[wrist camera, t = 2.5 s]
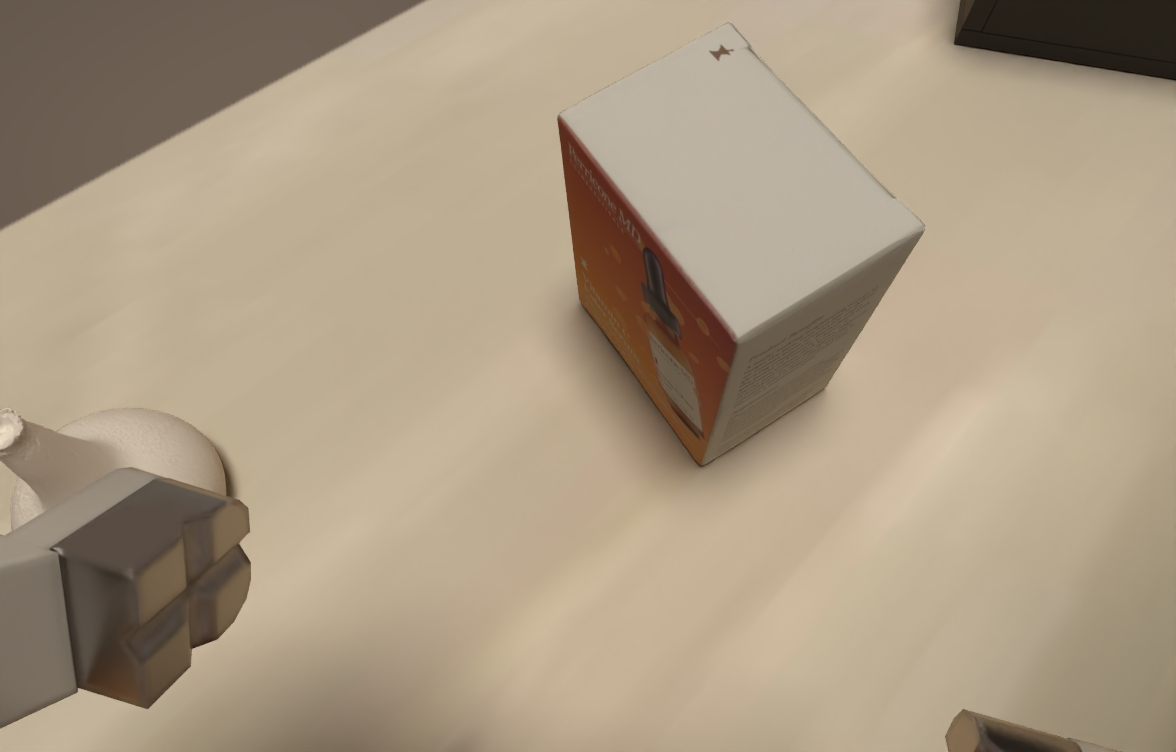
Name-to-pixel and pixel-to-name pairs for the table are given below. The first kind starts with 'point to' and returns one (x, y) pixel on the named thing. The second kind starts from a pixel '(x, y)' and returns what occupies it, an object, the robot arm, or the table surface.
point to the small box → (724, 237)
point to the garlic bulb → (101, 455)
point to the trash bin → (1077, 31)
